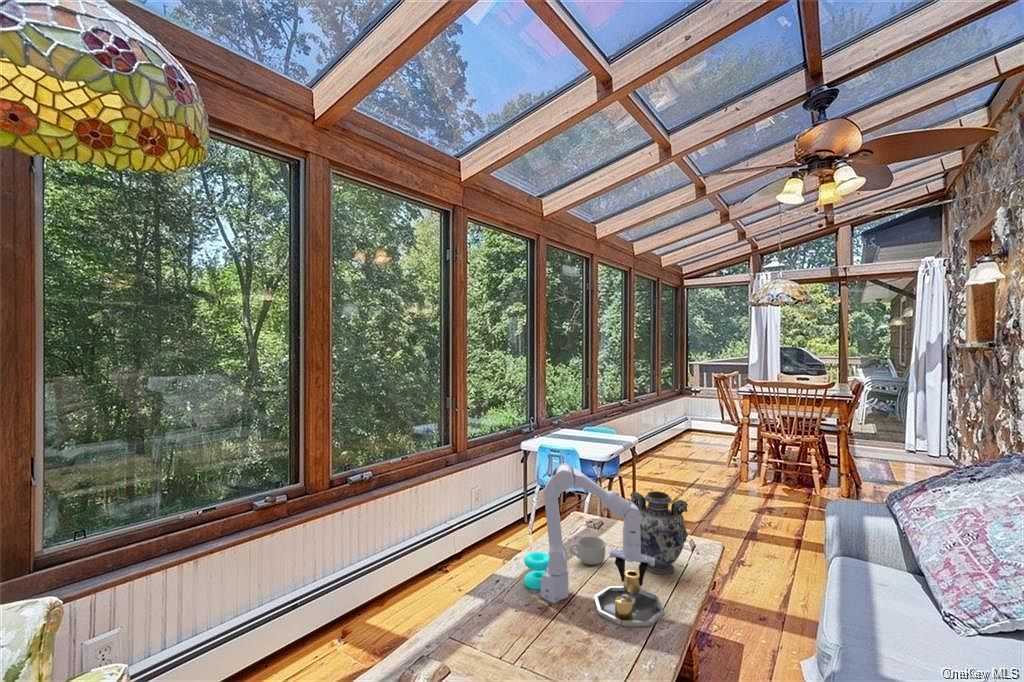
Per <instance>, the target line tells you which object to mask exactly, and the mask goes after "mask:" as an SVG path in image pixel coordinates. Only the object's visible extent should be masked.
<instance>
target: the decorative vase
mask: <svg viewBox="0 0 1024 682" xmlns="http://www.w3.org/2000/svg"><path fill="white" fill-rule="evenodd" d="M629 496H630V499H631V500H630V501H631V502H632V503H634V504H635V505H636V506H637V507H638V509H639V511H640V513H641V517H642V521H641V523H640V529H641V554H644V555H646V556H649V557H653V558H655V565H654V566H651V565H650V564H649V565H648V567H647V569H646V571H647V572H649V573H651V574H655V575H661V576H663V575H664V576H665V575H671V574H672V573H674V571H675V568H674V565H673V563H674V562H676V561H677V560H678V558H679V557H680V556H681V553H682V551H683V548H684V545H685V543H686V542H687V537H689V533H688V531H687V529H686V526H685V518H684V516H683V513H684V512H685V513H687V512H688V505H689V504H688V503H687V501H686V500H683V499H678V500H675V501H672V497H670V496H669V494H667V493H666V492H662V491H650V492H648V493H647V494H646V495H645V496H644V495H643V494H641V493H639V492H638V491H634V492H633V491H632V492H631V493H630V494H629ZM647 503H648V504H647ZM670 503H671V507H670V506H669V504H670ZM669 507H670V508H671V509H669Z"/></svg>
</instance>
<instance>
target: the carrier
mask: <svg viewBox="0 0 1024 682" xmlns="http://www.w3.org/2000/svg"><path fill="white" fill-rule="evenodd" d="M593 601H594V607H595V609H596V612H597V614H598V615H599V616H600V617H603V618H604V619H605V620H607V621H610V622H611V623H613V624H614V623H615V624H616V625H618V626H622V627H631V628H632V627H634V628H635V627H636V628H638V627H639V628H640V627H651V626H652V625H654V624H656V623H658V621H659V620H660V619H661V618H662V617H664V616H665V609H664V608H663V606H662V603H661V601H660V600H659V597H658V596H657V595H656V594H654V593H651V592H649V591H647V590H644V589H642V588H641V590H640V592H638V593H630V592H627V591H626V590H625V589H624V585H608V586H607V587H605V588H604V589H601V590H600V591H599V592H597V593H596V594H594V595H593Z"/></svg>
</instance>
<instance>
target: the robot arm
mask: <svg viewBox="0 0 1024 682" xmlns="http://www.w3.org/2000/svg"><path fill="white" fill-rule="evenodd" d="M571 488H573V489H580V488H582V489H584V490H585V491H587V492H589V493H590V494H591V495H593V496H595V497H596V498H598V499H600V500H601V502H602V505H603V507H605V508H607V510H609V511H611V512H613V514H616V516H618V517H620V518H623V519H622V520H623V521H622V522H623V523H622V524H623V526H622V550H620V549H619V550H618V549H617V550H615V549H610V550H609V558H610V559H611V558H612V559H613V558H615V560H614V564H615V566H616V568H617V570H618V573H619V575H620V578H621V582H622V583H624V572H625V571H626V562H627V563H628V562H629V563H633V562H635V563H639V565H638V570H639V571H638V572H639V574H640V580H639V585H640V586H641V587H642V586H643V584H644V577H645V573H646V571H647V570H646V569H647V567H648V565H649V564H650V565H651V566H654V565H655V558H653V557H649V556H646V555H644V554H641V529H640V523H641V521H642V517H641V513H640V511H639V509H638V507H637V506H636V505H635V503H633V502H631V500H626V499H625V498H624V497H622V496H621V495H620V492H618V491H617V490H616V491H613V490H606V489H604V488H603V487H601V485H599V484H597V483H596V482H595V481H594V480H592V479H591V478H589V476H587V475H586V474H585V473H583V472H581V471H580V470H578V469H577V468H575V467H572V465H570V464H568V463H564V462H563V463H560V464H559V465H557V466H556V467H555V468H554V469H553V470H552V473H551V475H550V476H549V479H548V481H547V482H546V484H545V487H544V488H543V497H544V506H545V507H544V508H545V517H546V527H547V535H548V537H547V538H548V545H549V547H548V548H549V551H548V555H549V562H548V567H547V569H546V571H545V572H546V574H545V575H544V576H543V577H542V578H541V582H540V583H541V589H540V596H539V597H538V599H541V600H542V599H543V600H546V601H548V602H550V603H551V604H556V603H557V602H559V601H562V600H564V599H567V598H568V596H569V590H570V589H569V588H570V587H569V586H570V585H569V567H568V563H567V557H568V552H567V550H566V548H565V546H564V540H563V535H562V533H563V532H562V524H561V515H560V505H559V496H560V495H561V494H562V493H563V492H565V491H567V490H569V489H571Z"/></svg>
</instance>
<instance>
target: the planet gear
mask: <svg viewBox="0 0 1024 682" xmlns="http://www.w3.org/2000/svg"><path fill="white" fill-rule="evenodd" d="M639 580H640V574H639V571H638V570H633V569H627V570H626V569H625V572H624V582H623V586H624V589H625V590H626V591H627V592H630V593H638V592H640V590H641V589H642V586H640V585H639Z"/></svg>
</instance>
